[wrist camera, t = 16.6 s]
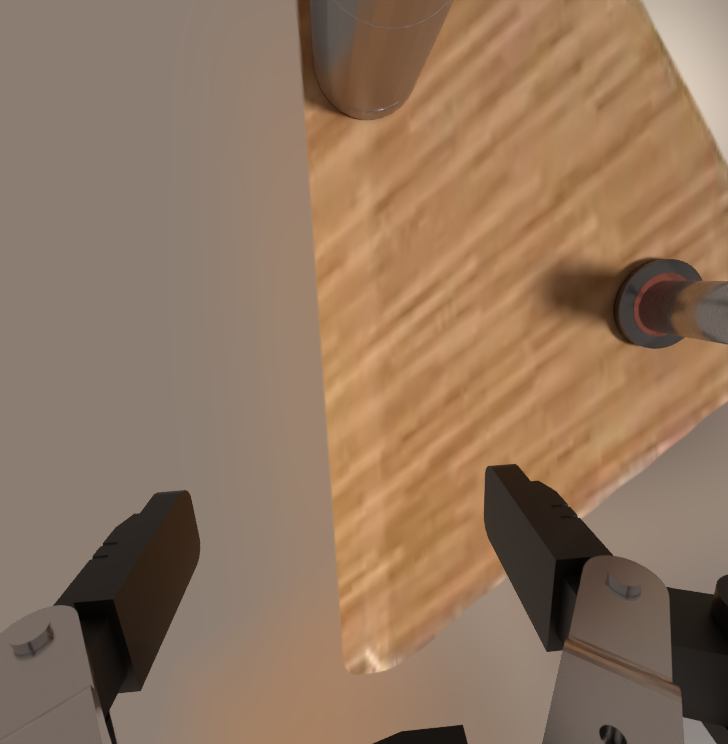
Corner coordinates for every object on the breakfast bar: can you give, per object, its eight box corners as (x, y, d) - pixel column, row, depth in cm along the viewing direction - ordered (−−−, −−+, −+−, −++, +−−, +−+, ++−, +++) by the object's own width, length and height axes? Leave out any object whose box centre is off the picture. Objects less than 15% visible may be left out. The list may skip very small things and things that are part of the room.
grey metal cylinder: (640, 283, 41) (735, 285, 31) (689, 277, 41) (799, 278, 32) (637, 334, 42) (728, 352, 33) (685, 328, 43) (789, 345, 33)
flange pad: (616, 264, 42) (624, 264, 40) (700, 255, 42) (710, 254, 41) (612, 351, 44) (619, 353, 43) (692, 341, 44) (701, 343, 43)
